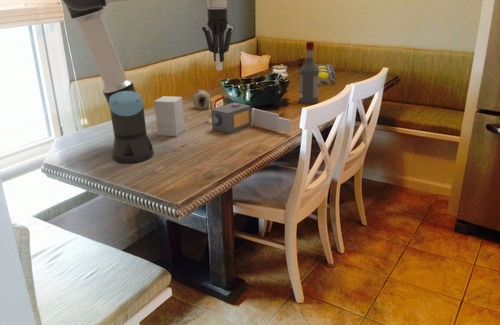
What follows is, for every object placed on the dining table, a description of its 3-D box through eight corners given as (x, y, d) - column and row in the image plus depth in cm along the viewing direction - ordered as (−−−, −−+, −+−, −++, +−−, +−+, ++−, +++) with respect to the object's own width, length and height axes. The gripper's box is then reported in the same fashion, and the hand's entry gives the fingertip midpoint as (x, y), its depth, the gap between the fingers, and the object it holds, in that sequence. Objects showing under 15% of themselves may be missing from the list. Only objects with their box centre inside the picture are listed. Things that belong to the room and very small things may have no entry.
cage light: (333, 63, 286) (336, 72, 259) (332, 75, 289) (335, 86, 262) (310, 63, 288) (310, 72, 260) (309, 75, 291) (310, 86, 263)
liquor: (318, 99, 235) (320, 40, 223) (316, 104, 227) (318, 43, 215) (301, 98, 237) (302, 40, 225) (298, 103, 229) (299, 43, 217)
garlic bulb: (194, 112, 228) (187, 93, 225) (208, 106, 232) (201, 88, 230) (202, 110, 220) (195, 91, 217) (216, 104, 224) (209, 85, 222)
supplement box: (185, 129, 195) (182, 96, 189) (177, 136, 187) (173, 101, 181) (166, 128, 197) (163, 95, 191) (157, 135, 189) (153, 100, 183)
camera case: (226, 134, 187) (225, 112, 184) (210, 129, 194) (208, 107, 190) (251, 125, 198) (250, 104, 194) (234, 121, 204) (234, 100, 200)
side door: (291, 133, 185) (291, 116, 182) (289, 134, 184) (289, 117, 181) (253, 123, 198) (253, 107, 196) (251, 124, 197) (251, 108, 195)
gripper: (236, 7, 172) (237, 69, 181) (206, 7, 177) (209, 67, 186) (228, 9, 166) (230, 72, 175) (197, 8, 170) (200, 70, 180)
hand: (219, 69), depth 180 cm, fingers closed
